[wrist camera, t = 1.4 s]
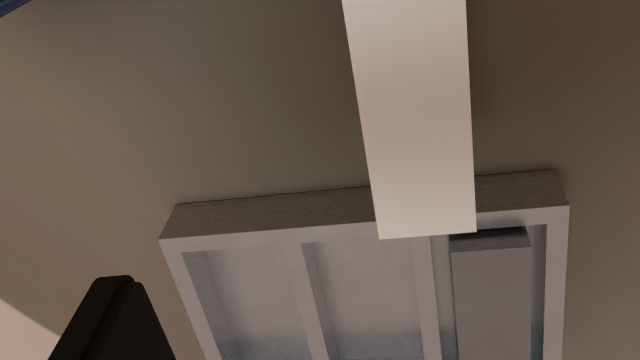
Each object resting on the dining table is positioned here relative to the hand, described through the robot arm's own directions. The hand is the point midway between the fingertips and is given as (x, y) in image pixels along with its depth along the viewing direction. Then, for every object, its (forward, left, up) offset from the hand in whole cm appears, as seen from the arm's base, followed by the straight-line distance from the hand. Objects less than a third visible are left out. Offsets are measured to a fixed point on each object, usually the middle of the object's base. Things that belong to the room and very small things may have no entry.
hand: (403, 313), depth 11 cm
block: (0, 0, -14) cm, 14 cm away
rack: (+3, +12, -14) cm, 19 cm away
